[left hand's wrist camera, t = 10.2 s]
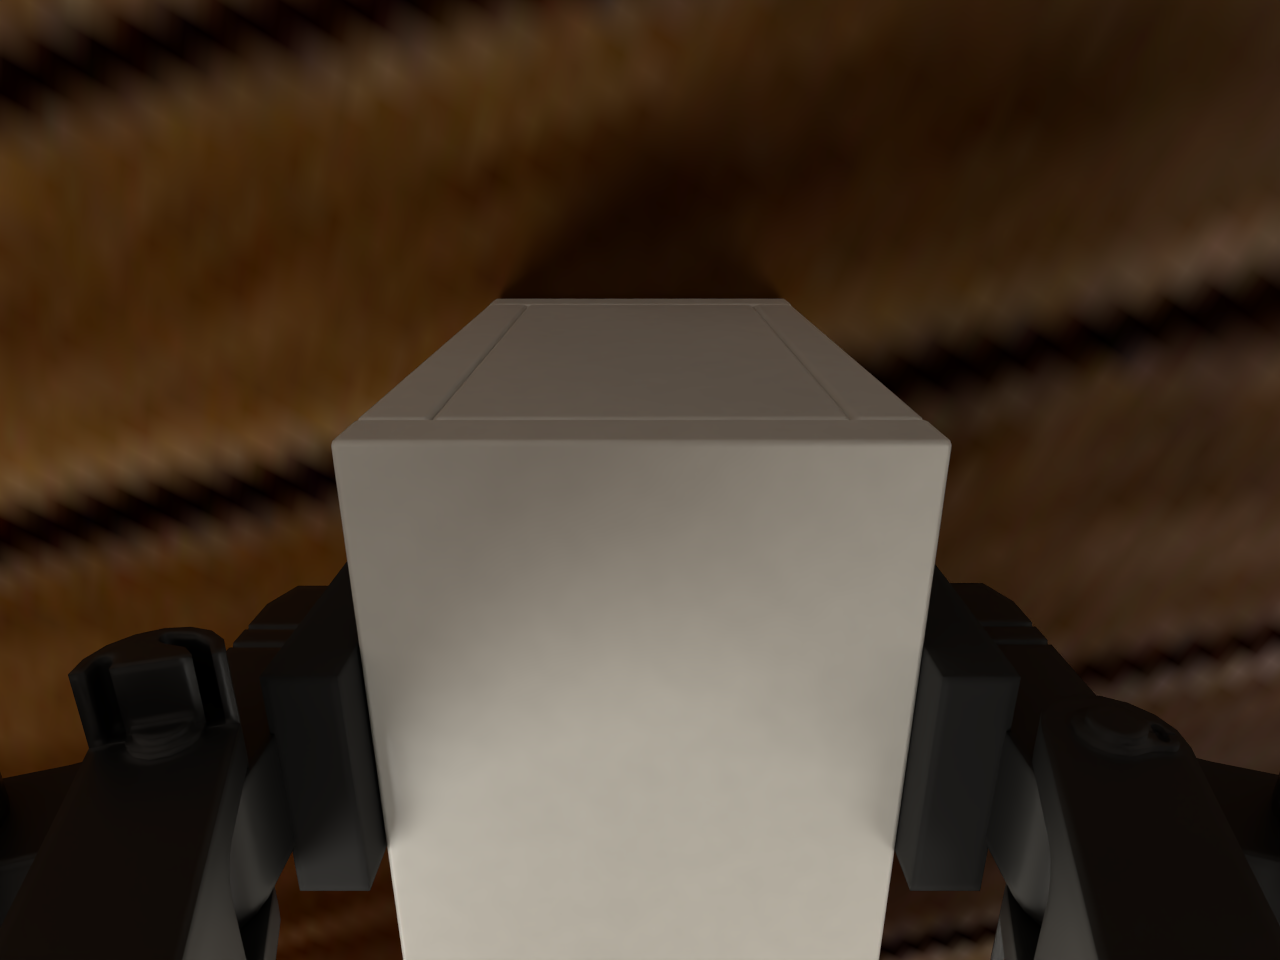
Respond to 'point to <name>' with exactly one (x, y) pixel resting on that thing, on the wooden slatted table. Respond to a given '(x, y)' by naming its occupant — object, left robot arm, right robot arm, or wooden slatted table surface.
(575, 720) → the cabinet
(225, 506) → the wooden slatted table surface
